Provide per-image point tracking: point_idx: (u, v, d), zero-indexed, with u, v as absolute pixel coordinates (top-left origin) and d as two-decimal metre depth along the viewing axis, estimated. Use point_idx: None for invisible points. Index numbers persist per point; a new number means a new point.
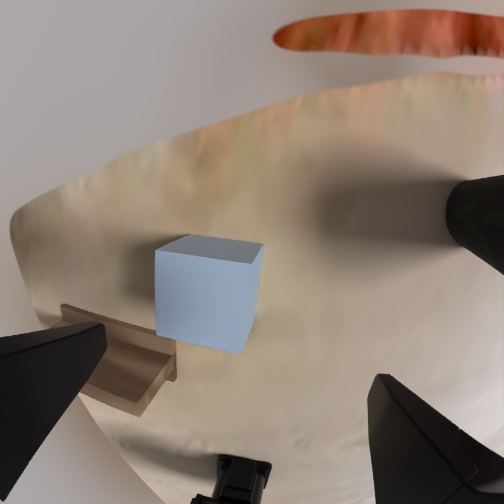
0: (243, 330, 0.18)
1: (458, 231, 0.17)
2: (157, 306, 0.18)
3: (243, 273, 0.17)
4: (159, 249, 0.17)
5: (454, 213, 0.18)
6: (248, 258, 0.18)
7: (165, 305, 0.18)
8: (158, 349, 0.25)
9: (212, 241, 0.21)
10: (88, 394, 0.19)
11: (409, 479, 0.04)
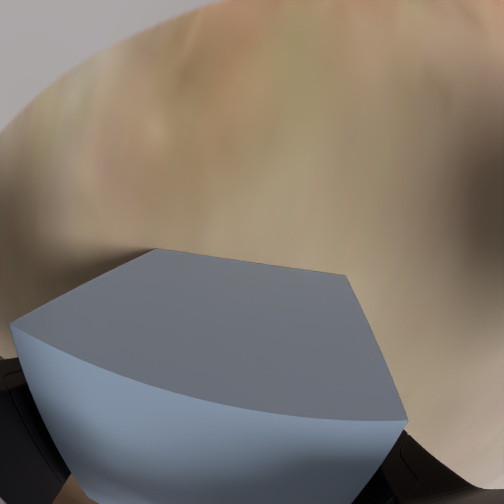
0: None
1: None
2: (68, 461, 0.04)
3: (362, 452, 0.03)
4: (23, 321, 0.04)
5: None
6: (367, 370, 0.04)
7: (85, 468, 0.04)
8: None
9: (212, 274, 0.07)
10: None
11: None
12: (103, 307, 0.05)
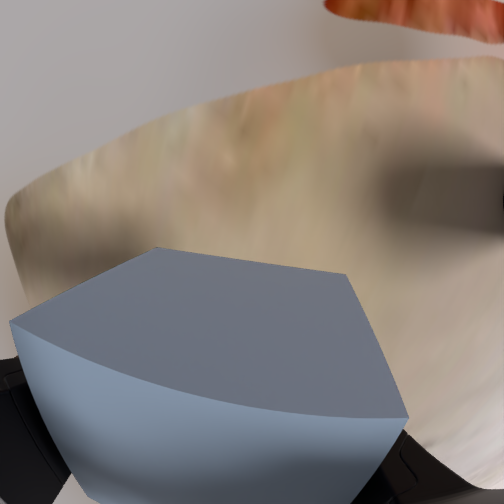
0: None
1: None
2: (67, 460, 0.04)
3: (362, 449, 0.03)
4: (23, 319, 0.04)
5: None
6: (367, 367, 0.04)
7: (84, 467, 0.04)
8: None
9: (213, 272, 0.07)
10: None
11: None
12: (103, 305, 0.05)
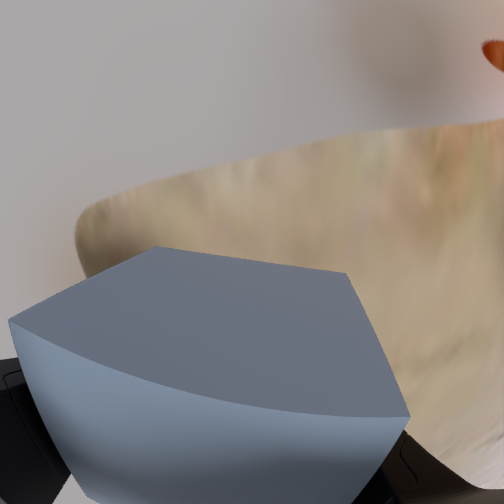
0: None
1: None
2: (66, 460, 0.04)
3: (363, 449, 0.03)
4: (22, 318, 0.04)
5: None
6: (368, 366, 0.04)
7: (83, 466, 0.04)
8: None
9: (212, 271, 0.07)
10: None
11: None
12: (102, 303, 0.05)
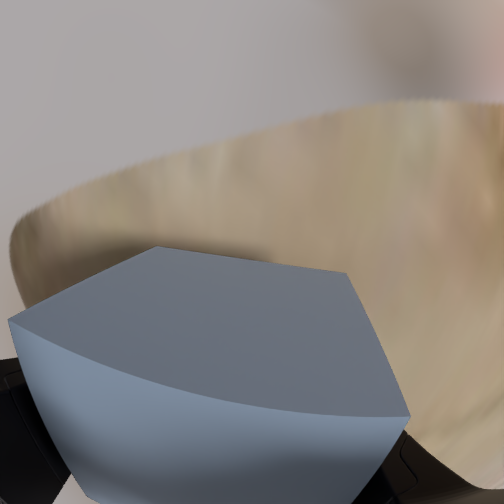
0: None
1: None
2: (66, 460, 0.04)
3: (364, 449, 0.03)
4: (22, 317, 0.04)
5: None
6: (368, 366, 0.04)
7: (83, 466, 0.04)
8: None
9: (212, 271, 0.07)
10: None
11: None
12: (102, 303, 0.05)
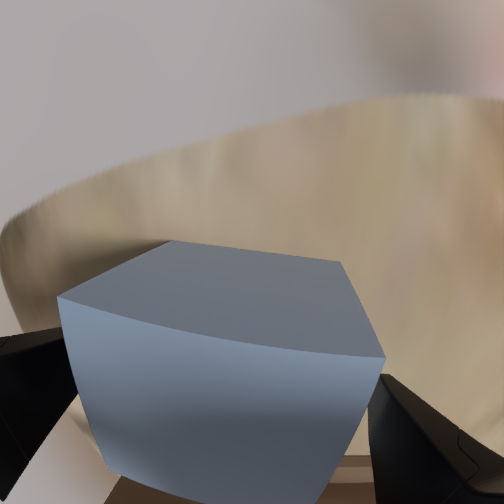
0: (319, 493, 0.05)
1: None
2: (95, 429, 0.06)
3: (352, 387, 0.04)
4: (70, 294, 0.05)
5: None
6: (354, 325, 0.05)
7: (112, 433, 0.05)
8: (366, 480, 0.11)
9: (225, 259, 0.09)
10: None
11: (409, 479, 0.04)
12: (138, 282, 0.06)
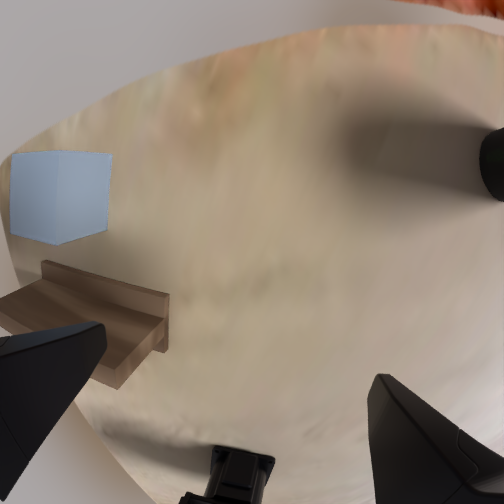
0: (55, 218, 0.15)
1: (496, 176, 0.14)
2: (10, 204, 0.16)
3: (55, 160, 0.14)
4: None
5: (490, 157, 0.14)
6: (67, 151, 0.15)
7: (14, 202, 0.15)
8: (147, 310, 0.21)
9: None
10: None
11: (409, 479, 0.04)
12: None
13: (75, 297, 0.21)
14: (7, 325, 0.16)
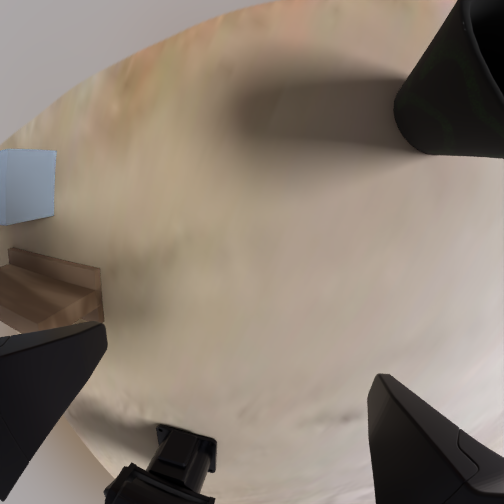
0: (5, 203, 0.16)
1: (407, 122, 0.14)
2: None
3: (5, 157, 0.15)
4: None
5: (399, 104, 0.15)
6: (15, 149, 0.16)
7: None
8: (83, 284, 0.22)
9: None
10: (5, 320, 0.16)
11: (409, 479, 0.04)
12: None
13: (30, 276, 0.22)
14: None
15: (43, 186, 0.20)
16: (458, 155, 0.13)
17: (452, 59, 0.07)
